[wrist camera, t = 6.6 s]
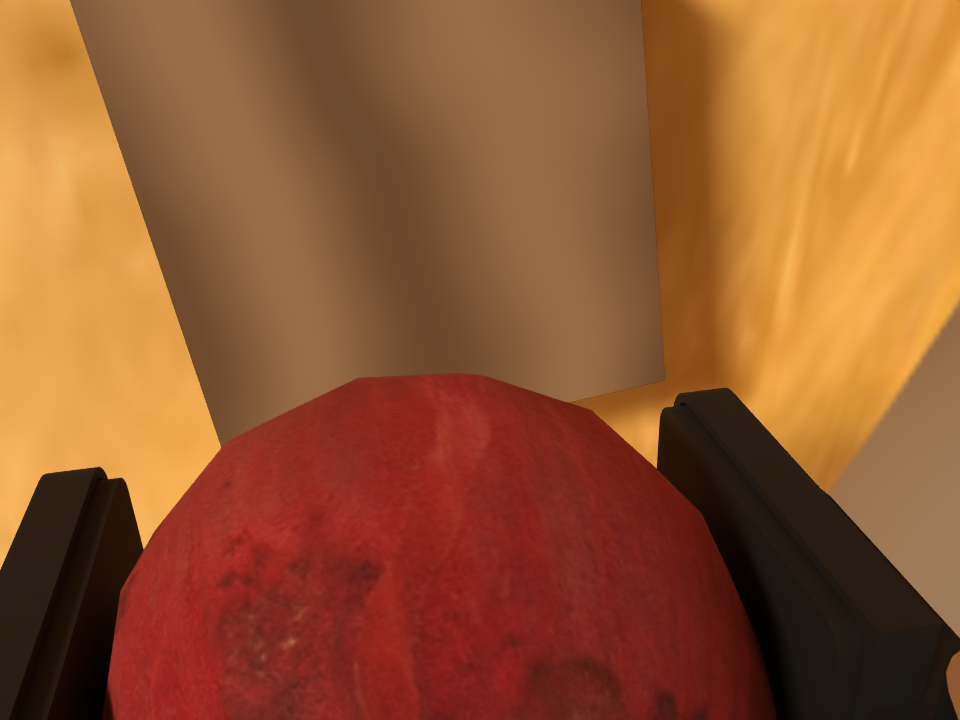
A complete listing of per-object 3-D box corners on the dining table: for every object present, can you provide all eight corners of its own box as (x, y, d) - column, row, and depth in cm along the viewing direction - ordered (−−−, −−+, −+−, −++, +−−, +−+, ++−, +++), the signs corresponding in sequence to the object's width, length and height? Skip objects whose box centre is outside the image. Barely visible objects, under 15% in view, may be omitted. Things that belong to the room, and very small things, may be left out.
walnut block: (571, -100, 24) (634, -101, 20) (609, 310, 30) (665, 380, 25) (111, -19, 23) (69, -1, 19) (241, 391, 29) (232, 479, 24)
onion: (54, 403, 10) (-439, 1448, 3) (505, 168, 10) (987, 768, 3) (313, 706, 13) (339, 1630, 6) (673, 527, 13) (1131, 1276, 6)
